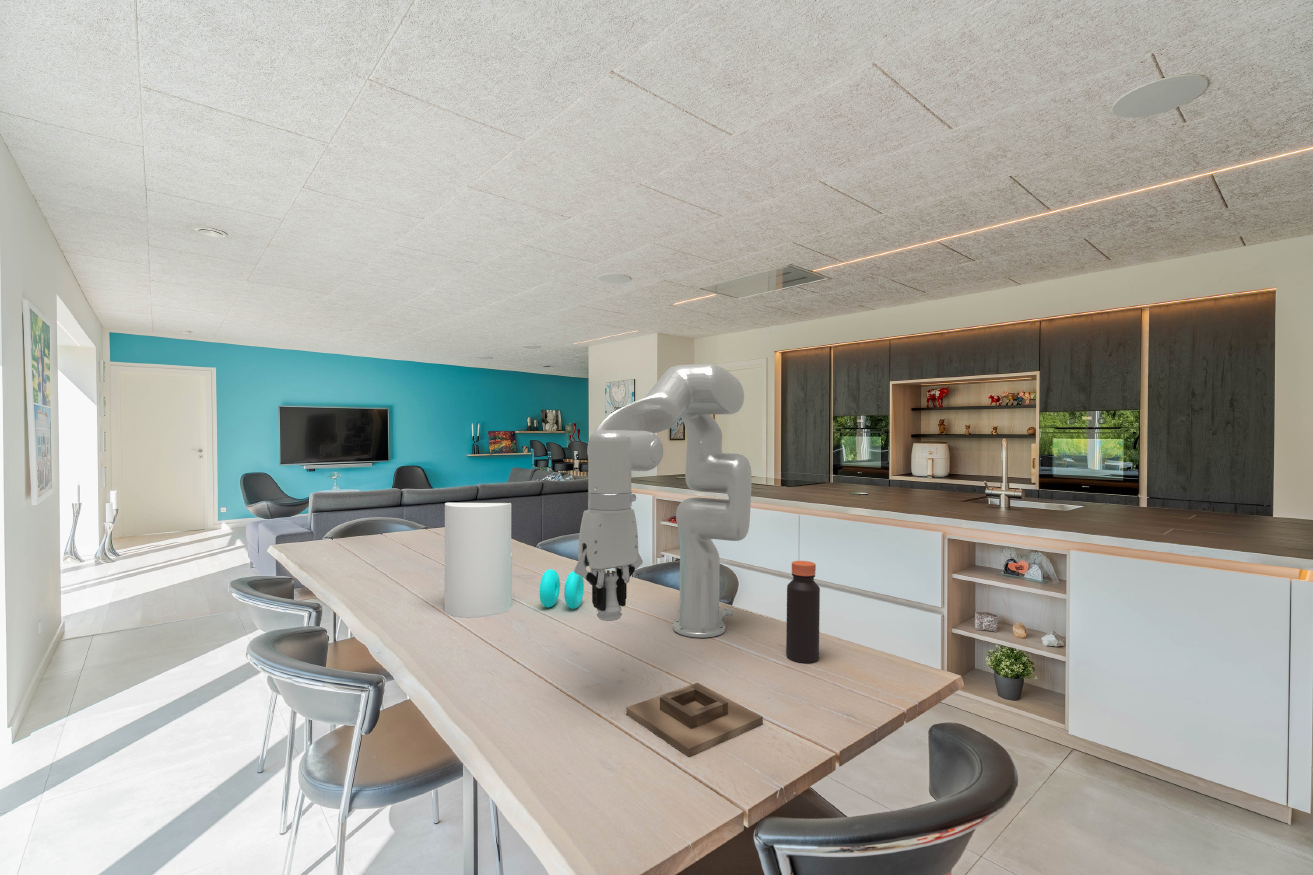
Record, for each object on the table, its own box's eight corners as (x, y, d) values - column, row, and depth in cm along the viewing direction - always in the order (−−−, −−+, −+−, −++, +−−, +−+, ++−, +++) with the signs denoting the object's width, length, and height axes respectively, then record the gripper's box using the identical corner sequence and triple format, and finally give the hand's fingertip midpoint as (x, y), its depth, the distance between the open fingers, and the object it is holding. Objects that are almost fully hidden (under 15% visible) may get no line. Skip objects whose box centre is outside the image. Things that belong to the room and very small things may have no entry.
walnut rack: (697, 688, 108) (697, 671, 108) (762, 723, 95) (763, 704, 95) (626, 714, 98) (626, 695, 98) (688, 756, 86) (688, 735, 86)
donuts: (550, 600, 163) (550, 565, 163) (584, 602, 161) (585, 566, 161) (537, 611, 153) (538, 573, 153) (574, 613, 151) (575, 575, 151)
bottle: (821, 654, 125) (822, 561, 125) (816, 665, 119) (817, 568, 119) (789, 649, 128) (790, 558, 128) (782, 660, 122) (783, 564, 122)
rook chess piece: (597, 613, 105) (597, 569, 105) (622, 613, 105) (622, 568, 105) (596, 621, 100) (596, 575, 100) (622, 621, 100) (622, 575, 100)
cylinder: (501, 618, 148) (502, 507, 147) (433, 617, 148) (434, 506, 147) (518, 598, 165) (519, 499, 164) (457, 597, 165) (458, 498, 165)
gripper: (636, 497, 110) (636, 593, 110) (557, 503, 100) (557, 609, 101) (660, 501, 104) (659, 603, 104) (578, 508, 94) (578, 621, 95)
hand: (609, 605), depth 103 cm, fingers closed on rook chess piece, 3 cm apart
